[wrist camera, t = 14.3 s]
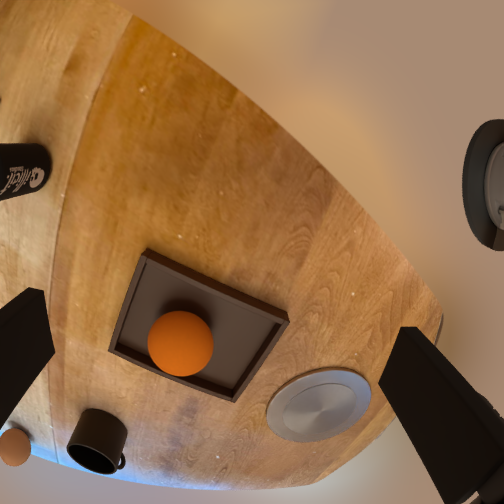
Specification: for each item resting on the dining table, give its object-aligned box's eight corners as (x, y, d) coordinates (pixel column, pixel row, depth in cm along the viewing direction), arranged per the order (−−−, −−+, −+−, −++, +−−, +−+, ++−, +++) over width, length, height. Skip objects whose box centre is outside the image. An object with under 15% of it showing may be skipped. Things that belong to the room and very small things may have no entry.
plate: (384, 365, 44) (386, 368, 43) (350, 435, 49) (351, 439, 48) (276, 366, 42) (277, 369, 41) (258, 439, 47) (259, 443, 46)
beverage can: (44, 199, 33) (-14, 217, 22) (13, 181, 32) (-44, 193, 20) (59, 152, 31) (1, 155, 20) (27, 137, 30) (-31, 136, 19)
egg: (37, 435, 47) (20, 467, 36) (35, 448, 48) (20, 478, 38) (9, 415, 45) (-10, 446, 34) (9, 430, 47) (-8, 458, 36)
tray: (287, 312, 39) (290, 322, 37) (234, 391, 43) (235, 403, 41) (147, 247, 36) (141, 254, 33) (113, 341, 39) (107, 351, 37)
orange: (225, 311, 37) (202, 331, 30) (218, 367, 38) (196, 396, 31) (168, 298, 39) (135, 313, 31) (164, 352, 40) (135, 375, 32)
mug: (114, 450, 47) (103, 483, 39) (73, 413, 44) (56, 446, 35) (146, 443, 47) (137, 479, 38) (103, 403, 43) (87, 440, 35)
